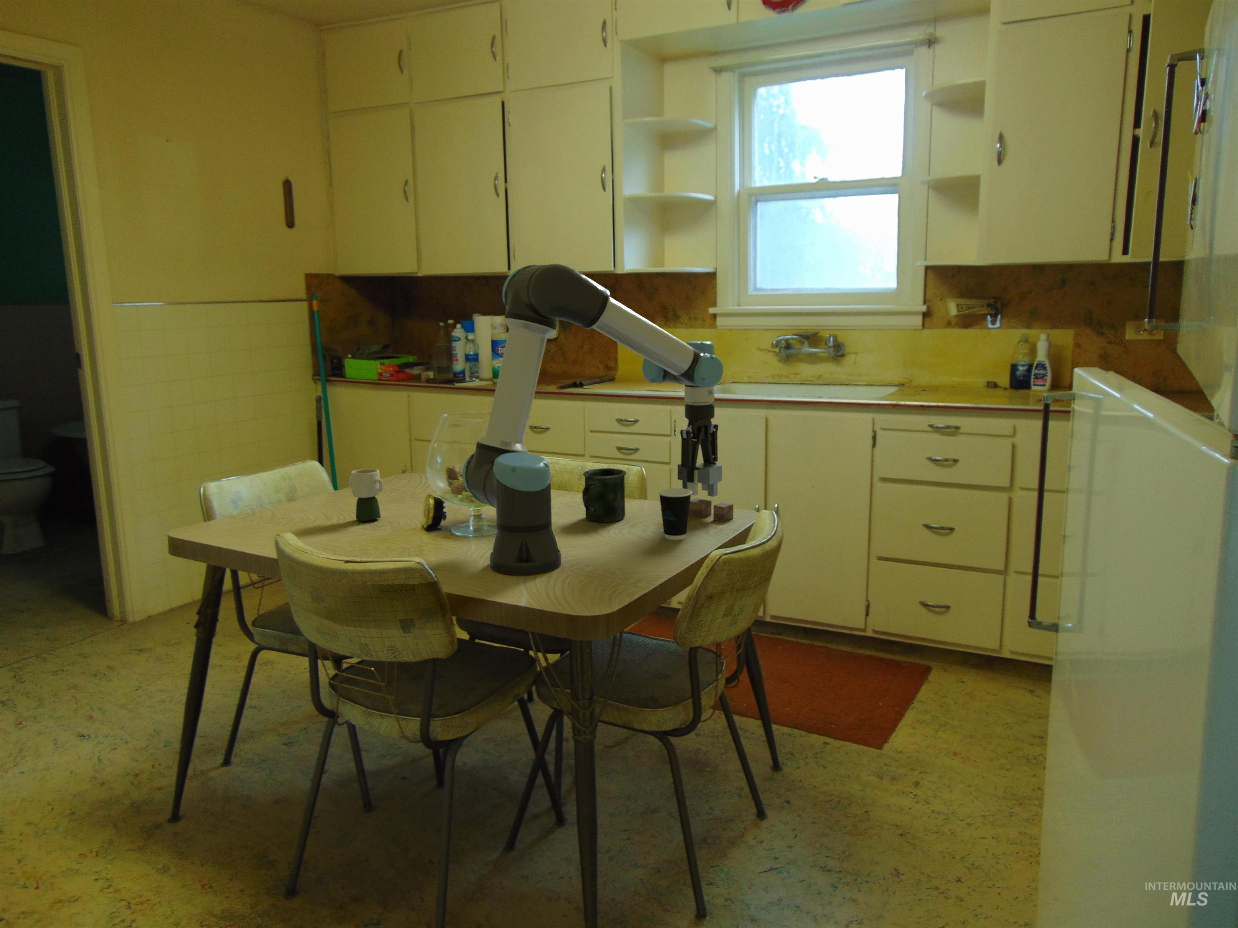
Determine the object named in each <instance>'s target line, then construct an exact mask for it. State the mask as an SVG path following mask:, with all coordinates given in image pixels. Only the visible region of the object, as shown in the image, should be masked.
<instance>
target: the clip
mask: <svg viewBox="0 0 1238 928" xmlns="http://www.w3.org/2000/svg"><path fill="white" fill-rule="evenodd" d="M695 470H698V484H702V483H703V484H708V491H707V496H708V497H718V489H719V488H718V487H719V486H718V483H719V482H720V483H721V482H722V481H723V465H721V464H716V465H715V464H707V463H704V462H698V461H697V463H696V469H695ZM677 481H681V482H682V483H681V484H682V487H681V488H683V489H687V470H686V469H683V468H681V463H678V464H677Z"/></svg>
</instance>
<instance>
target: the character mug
mask: <svg viewBox="0 0 1238 928" xmlns="http://www.w3.org/2000/svg"><path fill="white" fill-rule="evenodd" d="M380 475H381V474H380V469H377V468H360V469H355V470H351V472H350V476H349V477H348V484H349V485H348V486H349V489H351V494H352V496H353V497H355V498H357V500H356V505H355V506H356V508H355V519H356V521H360V522H365V521H372V522H373V521H374V520H376V519H380V518H382V516H381V510H380V506H379V500H378V498H377V497H376V496H379V495H380V493H382V492H384V481H383V479H381V476H380Z"/></svg>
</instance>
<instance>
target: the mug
mask: <svg viewBox="0 0 1238 928" xmlns="http://www.w3.org/2000/svg"><path fill="white" fill-rule="evenodd" d="M626 474H627V472H626V471H625V470H624V469H620V468H611V467H610V468H609V467H608V468H594V469H589V470H585V471H583V473H582V475H583V477H584V487H583V490H582V496H581V498H582V503H583V507H584V508H585V518H586V519H587V520H588V521H591V522H594V523H595V522H596V523H614V522H618V521H621V520H623V519H624V518H625V517H626V495H625V494H626V492H625V491H626V489H625V488H626V485H625V484H626V483H625V481H626V479H625V477H626Z"/></svg>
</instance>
